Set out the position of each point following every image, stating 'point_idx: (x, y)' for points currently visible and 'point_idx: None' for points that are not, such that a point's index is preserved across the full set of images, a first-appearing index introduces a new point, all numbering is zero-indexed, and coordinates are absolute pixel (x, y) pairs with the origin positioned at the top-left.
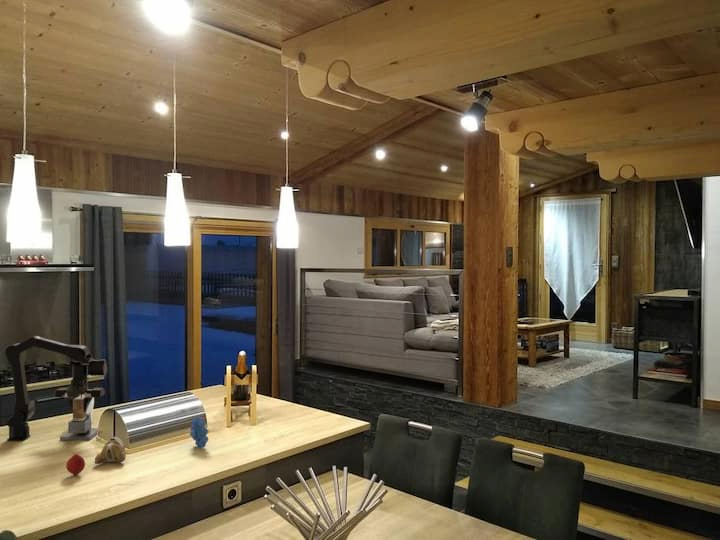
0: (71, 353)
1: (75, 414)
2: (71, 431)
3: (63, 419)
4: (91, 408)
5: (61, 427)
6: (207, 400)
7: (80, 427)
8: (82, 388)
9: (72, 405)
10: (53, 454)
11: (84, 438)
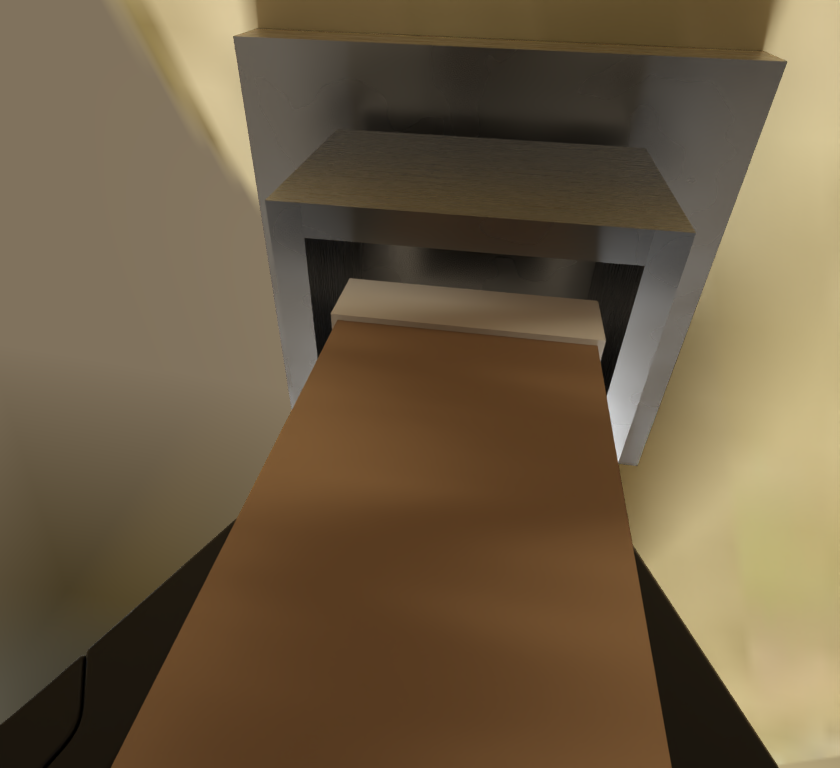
0: None
1: (526, 405)
2: (585, 151)
3: (763, 715)
4: None
5: (771, 568)
6: None
7: (400, 167)
8: None
9: (697, 763)
10: None
11: (334, 33)
